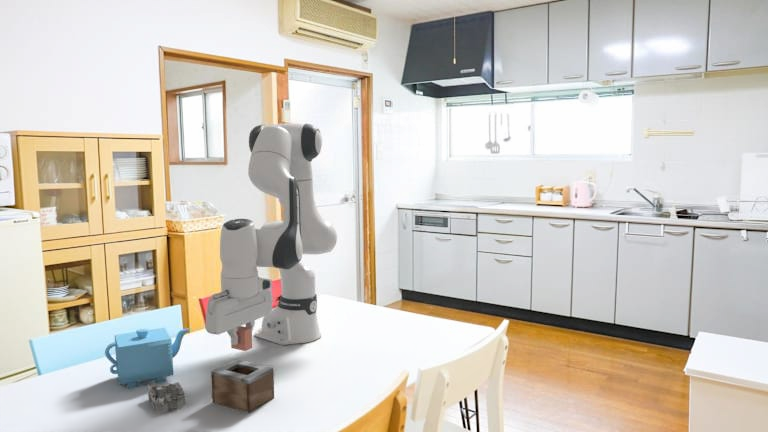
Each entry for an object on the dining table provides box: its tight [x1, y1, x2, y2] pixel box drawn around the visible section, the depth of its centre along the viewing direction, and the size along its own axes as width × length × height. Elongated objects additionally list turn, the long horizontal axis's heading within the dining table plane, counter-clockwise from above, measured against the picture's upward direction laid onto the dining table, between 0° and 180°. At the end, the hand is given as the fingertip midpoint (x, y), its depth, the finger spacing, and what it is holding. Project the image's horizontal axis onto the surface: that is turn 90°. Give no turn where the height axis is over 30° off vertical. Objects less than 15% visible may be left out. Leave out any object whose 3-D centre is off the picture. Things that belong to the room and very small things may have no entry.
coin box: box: [210, 358, 275, 414], centre depth 137 cm, size 12×9×8 cm
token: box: [230, 325, 253, 352], centre depth 136 cm, size 4×2×5 cm, turn 62°
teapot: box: [104, 327, 192, 389], centre depth 151 cm, size 22×11×14 cm, turn 120°
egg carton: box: [147, 381, 187, 413], centre depth 136 cm, size 11×8×4 cm
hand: (241, 341), depth 136 cm, fingers closed on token, 2 cm apart
